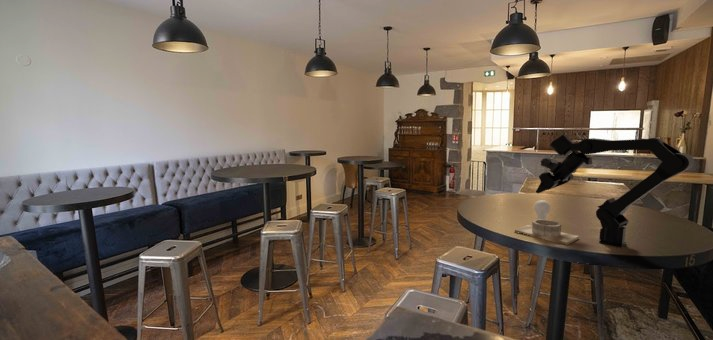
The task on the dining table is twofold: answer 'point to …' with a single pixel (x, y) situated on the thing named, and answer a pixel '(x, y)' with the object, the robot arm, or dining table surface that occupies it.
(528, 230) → the lamp base
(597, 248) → the dining table surface
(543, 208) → the lightbulb
